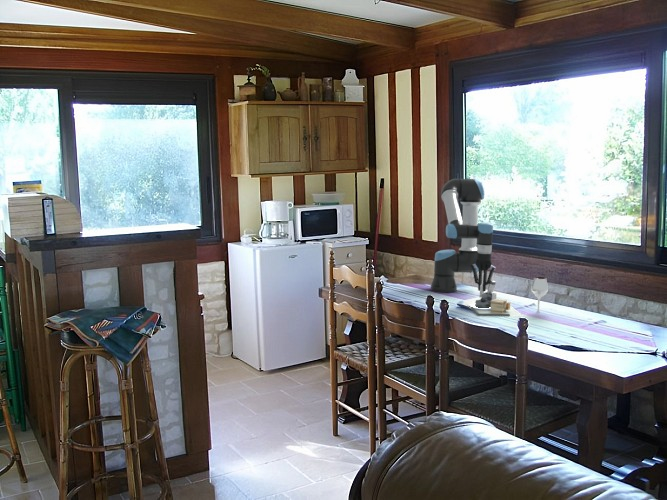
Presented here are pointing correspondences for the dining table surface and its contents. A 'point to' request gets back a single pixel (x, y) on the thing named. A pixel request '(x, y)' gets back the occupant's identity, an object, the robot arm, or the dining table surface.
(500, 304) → the crate
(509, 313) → the deck
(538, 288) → the wineglass
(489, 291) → the crank pin
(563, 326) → the dining table surface
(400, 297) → the dining table surface
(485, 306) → the crank wheel
